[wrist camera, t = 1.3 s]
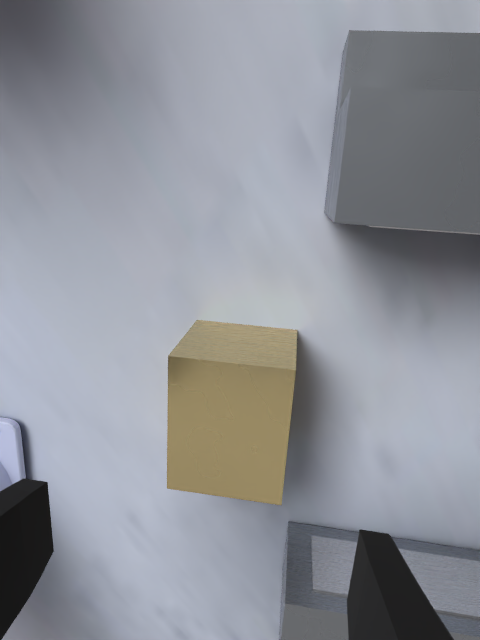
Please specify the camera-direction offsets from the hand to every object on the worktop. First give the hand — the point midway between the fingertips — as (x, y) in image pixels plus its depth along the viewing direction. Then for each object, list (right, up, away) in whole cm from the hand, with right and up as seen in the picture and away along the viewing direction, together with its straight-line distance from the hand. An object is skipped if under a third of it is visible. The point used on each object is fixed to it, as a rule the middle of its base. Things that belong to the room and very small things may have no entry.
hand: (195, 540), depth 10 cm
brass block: (+1, +2, +8) cm, 9 cm away
